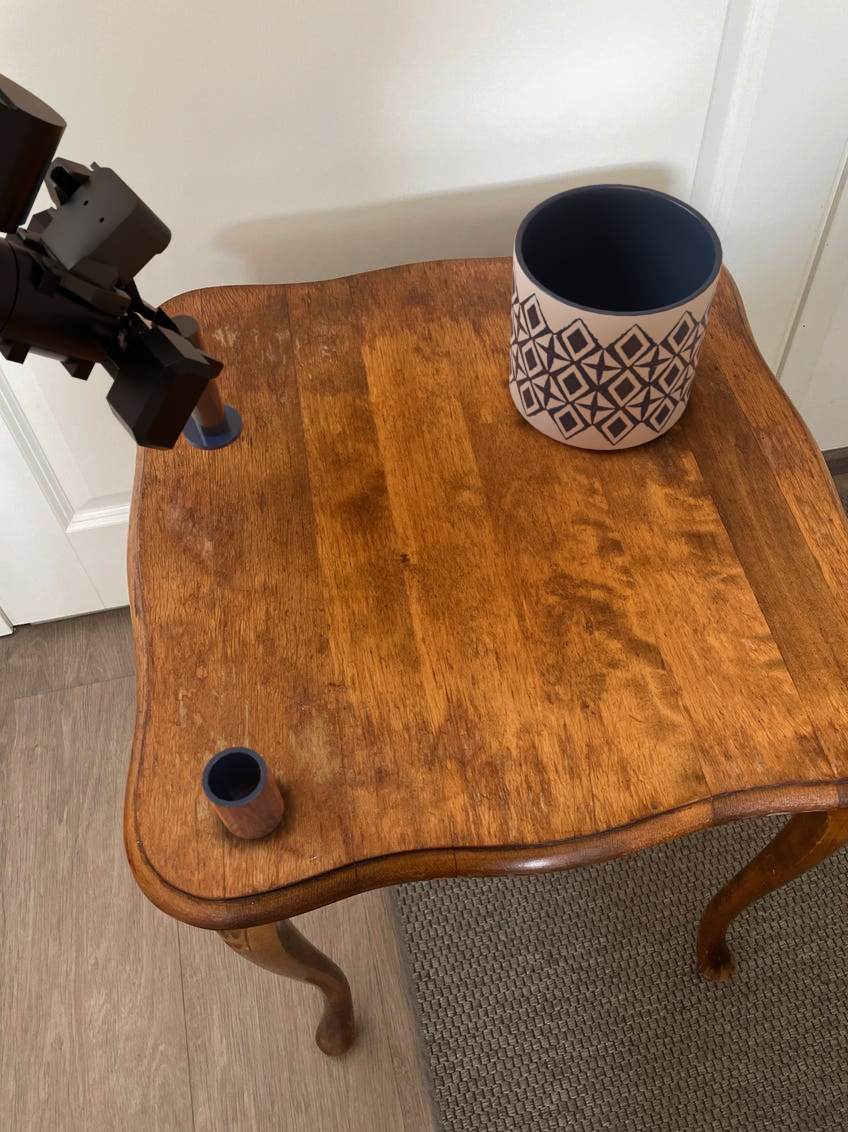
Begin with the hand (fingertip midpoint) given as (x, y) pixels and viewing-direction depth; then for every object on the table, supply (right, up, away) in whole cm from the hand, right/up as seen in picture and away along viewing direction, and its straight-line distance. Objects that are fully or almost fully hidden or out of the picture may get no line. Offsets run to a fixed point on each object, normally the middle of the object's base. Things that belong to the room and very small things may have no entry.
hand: (210, 359), depth 65 cm
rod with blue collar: (-1, -4, +5) cm, 6 cm away
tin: (+4, -31, -3) cm, 31 cm away
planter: (+29, +3, +18) cm, 34 cm away
